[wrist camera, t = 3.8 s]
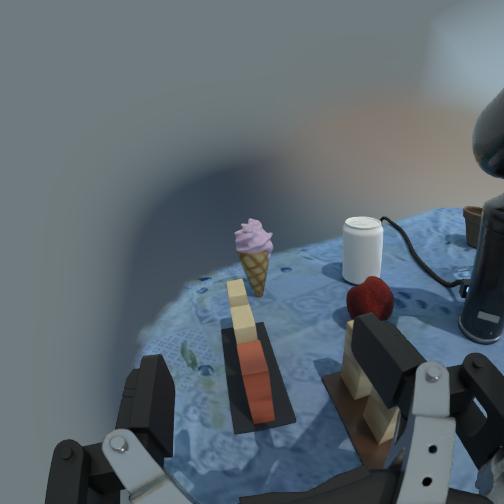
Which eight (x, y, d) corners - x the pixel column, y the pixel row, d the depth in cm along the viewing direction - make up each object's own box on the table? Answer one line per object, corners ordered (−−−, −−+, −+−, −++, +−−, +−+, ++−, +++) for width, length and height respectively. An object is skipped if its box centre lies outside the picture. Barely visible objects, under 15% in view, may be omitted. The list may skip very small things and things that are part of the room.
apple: (371, 304, 44) (375, 263, 41) (400, 326, 37) (408, 283, 34) (337, 318, 43) (339, 275, 40) (364, 344, 36) (371, 299, 33)
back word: (221, 331, 44) (210, 281, 40) (263, 323, 44) (257, 273, 41) (234, 434, 25) (216, 385, 22) (296, 422, 26) (295, 370, 22)
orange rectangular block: (247, 395, 30) (236, 343, 27) (267, 392, 30) (259, 339, 27) (253, 424, 26) (241, 375, 22) (274, 420, 26) (268, 370, 23)
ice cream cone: (277, 285, 55) (270, 213, 50) (279, 302, 49) (271, 223, 44) (244, 288, 56) (234, 217, 50) (243, 305, 50) (230, 228, 44)
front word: (321, 378, 31) (324, 322, 28) (368, 363, 32) (379, 307, 29) (384, 510, 13) (421, 482, 9) (442, 476, 14) (488, 433, 10)
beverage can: (379, 288, 48) (383, 229, 44) (339, 285, 52) (340, 227, 47) (380, 269, 55) (383, 216, 50) (344, 267, 58) (345, 215, 54)
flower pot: (490, 241, 58) (495, 209, 54) (494, 255, 50) (500, 219, 47) (459, 235, 65) (463, 203, 62) (459, 247, 58) (464, 212, 54)
